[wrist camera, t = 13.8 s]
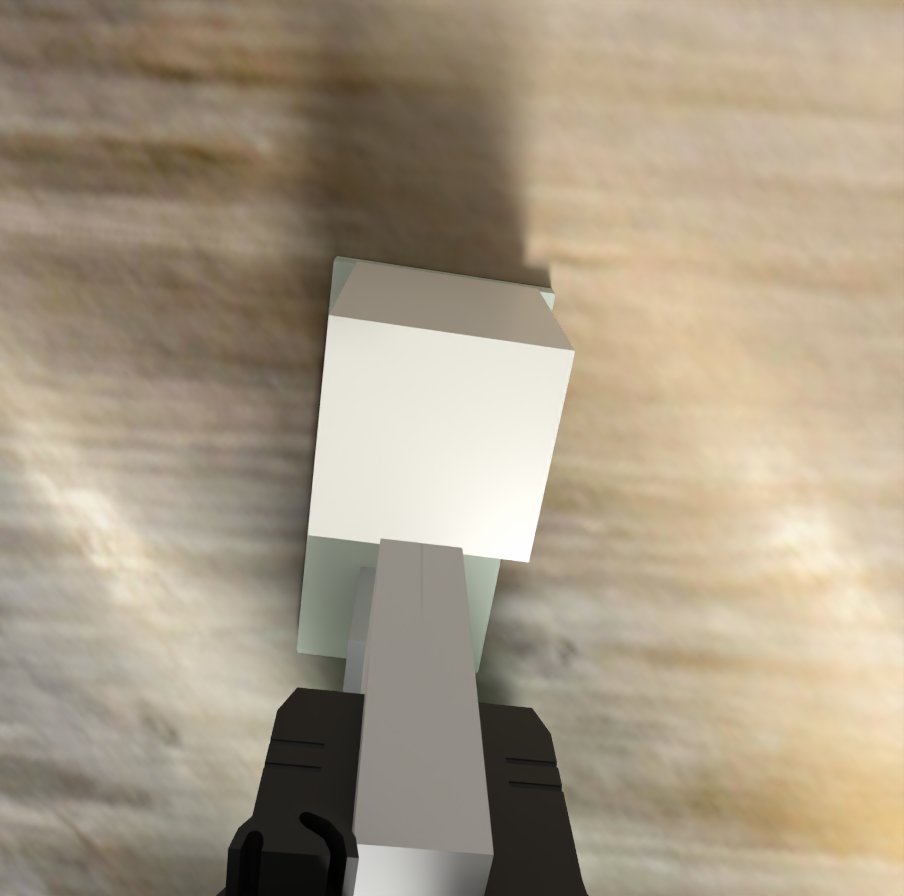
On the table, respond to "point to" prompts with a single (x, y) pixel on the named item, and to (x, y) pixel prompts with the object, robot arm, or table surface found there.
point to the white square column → (437, 412)
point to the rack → (372, 565)
